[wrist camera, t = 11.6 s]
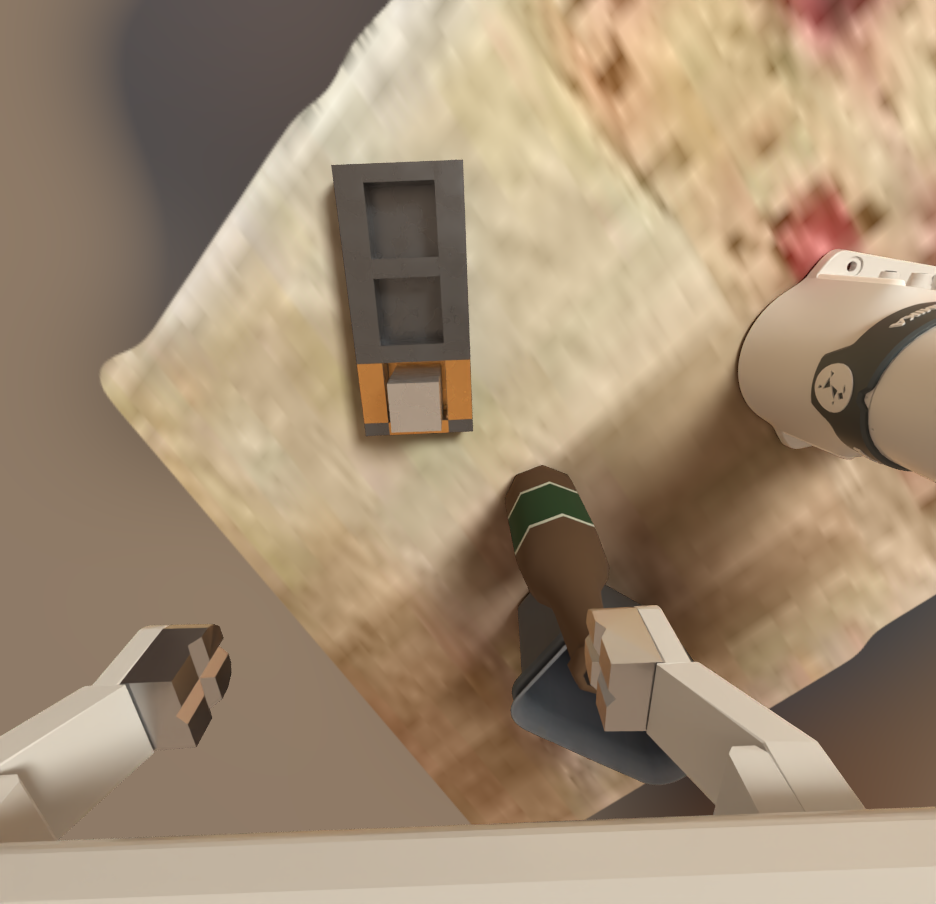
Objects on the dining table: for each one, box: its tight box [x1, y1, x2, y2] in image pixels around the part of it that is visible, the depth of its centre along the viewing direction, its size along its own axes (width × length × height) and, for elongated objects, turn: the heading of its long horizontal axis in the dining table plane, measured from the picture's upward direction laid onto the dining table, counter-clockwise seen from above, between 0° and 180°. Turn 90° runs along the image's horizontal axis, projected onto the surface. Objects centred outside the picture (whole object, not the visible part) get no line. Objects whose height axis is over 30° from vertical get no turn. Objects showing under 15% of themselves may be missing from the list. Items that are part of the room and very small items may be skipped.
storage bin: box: [511, 585, 694, 785], centre depth 52 cm, size 21×16×14 cm
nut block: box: [387, 364, 443, 433], centre depth 43 cm, size 4×4×7 cm
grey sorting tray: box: [331, 160, 473, 436], centre depth 43 cm, size 10×22×4 cm, turn 2°
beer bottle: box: [505, 465, 609, 694], centre depth 41 cm, size 8×8×24 cm
